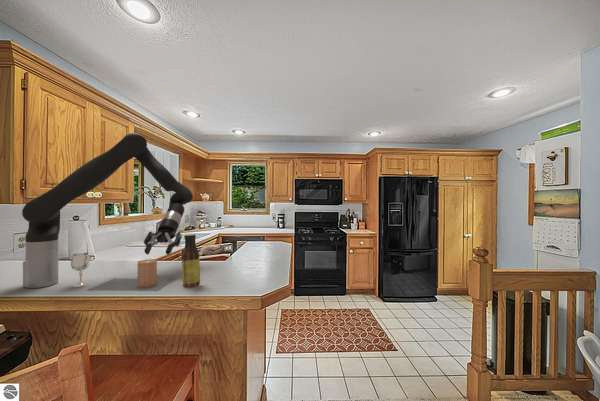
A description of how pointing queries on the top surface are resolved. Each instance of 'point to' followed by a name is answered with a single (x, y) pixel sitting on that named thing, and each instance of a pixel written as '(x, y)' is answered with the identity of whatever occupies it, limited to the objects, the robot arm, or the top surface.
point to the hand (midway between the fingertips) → (156, 253)
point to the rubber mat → (131, 285)
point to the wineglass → (80, 265)
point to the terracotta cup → (147, 273)
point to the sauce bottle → (190, 262)
